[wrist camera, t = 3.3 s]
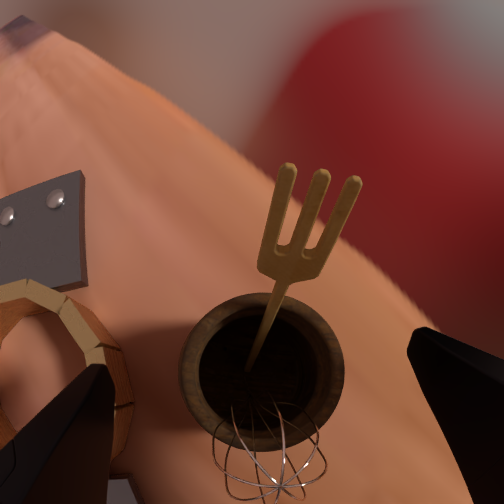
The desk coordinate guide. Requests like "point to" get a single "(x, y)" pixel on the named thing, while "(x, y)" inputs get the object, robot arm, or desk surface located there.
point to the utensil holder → (271, 344)
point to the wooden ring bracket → (49, 297)
